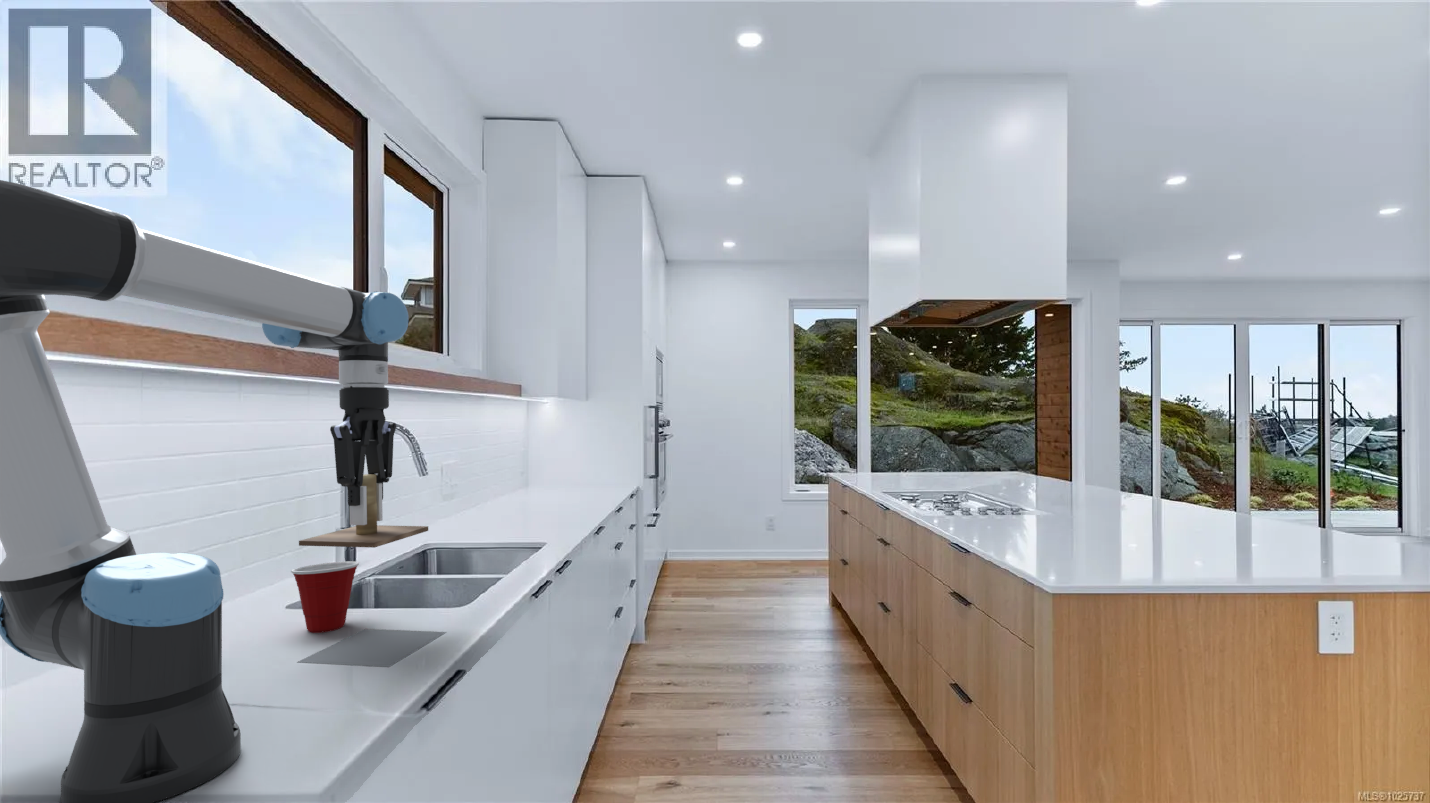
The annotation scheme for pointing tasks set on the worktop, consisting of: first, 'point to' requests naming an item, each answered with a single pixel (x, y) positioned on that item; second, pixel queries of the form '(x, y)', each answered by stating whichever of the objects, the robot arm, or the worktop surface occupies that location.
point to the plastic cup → (325, 594)
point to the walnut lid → (365, 527)
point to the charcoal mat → (373, 648)
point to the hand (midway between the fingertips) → (366, 522)
